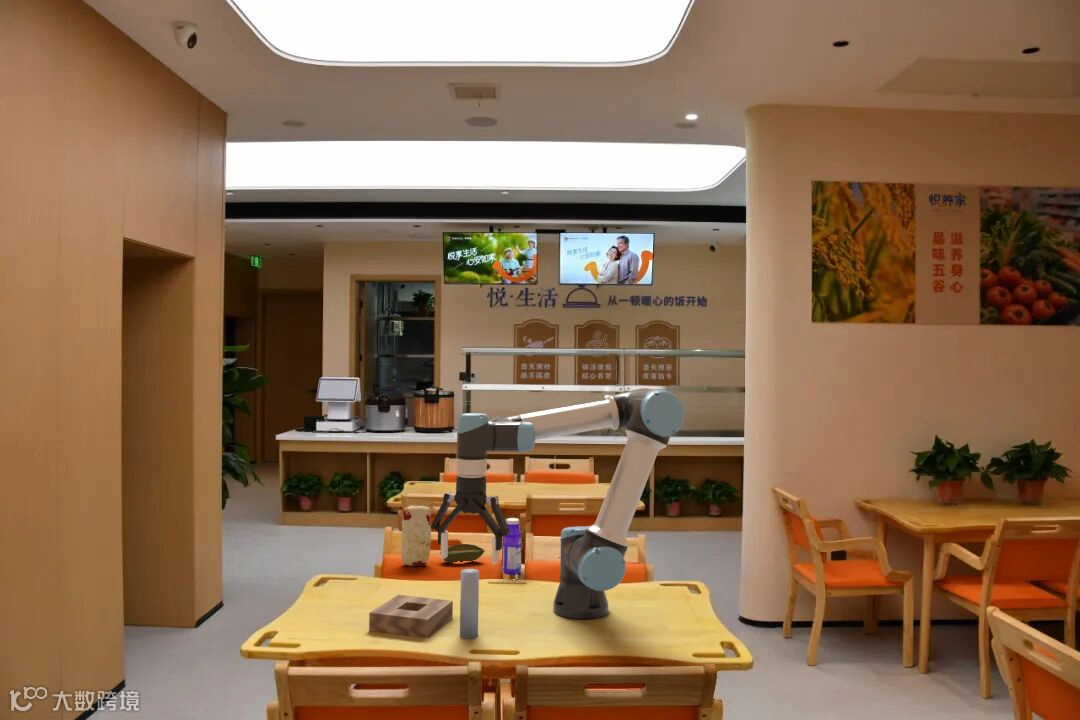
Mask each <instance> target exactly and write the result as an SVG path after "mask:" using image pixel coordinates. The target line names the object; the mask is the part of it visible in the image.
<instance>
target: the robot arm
mask: <svg viewBox="0 0 1080 720" xmlns="http://www.w3.org/2000/svg"><path fill="white" fill-rule="evenodd" d="M684 420H685V407H684V406H683V404H682V401H681V400H680V398H678V396H676V395H675V394H674V393H673V392H670V391H667V390H665V389H662V388H656V389H655V388H654V389H653V388H647V387H643V388H637V389H634V390H633V389H632V390H629V391H626V392H622V393H619V394H613V395H612V394H611V395H607V397H606V399H603V400H600V401H599V400H598V401H592V402H588V403H583V404H575V405H571V406H564V407H558V408H551V409H546V410H540V411H534V412H529V413H522V414H517V415H510V416H497V417H494V418H493V419H491V420H489V416H488V414H486V413H480V412H479V413H475V412H474V413H472V412H471V413H470V412H469V413H468V412H467V413H466V412H465V413H461V414H460V415H459V416H458V422H457V430H456V435H457V436H456V438H457V439H456V467H455V468H456V471H455V473H456V474H457V476H456V478H455V480H456V481H455V482H456V483H455V494H454V493H452V492H451V491H449V492H446V493H444V494H443V496H442V497H443V498H442V503H441V505H440V506H439V509H438V511H437V513H436V515H435V517H434V519H433V521H432V522H431V530H435V531H437V545H439V546H440V552H441V554H440V555H441V556H440V559H441V560H443V559H445V558H446V557H448V547H449V530H447V528H448V527H449V526H450V525H451V523H453V522H454V520H455V519H456V517H458V515H459V514H460V513H463V514H467V513H470V514H473V515H475V514H478V515H479V516H480V517H481V519H483V521H484V523H485V524H486V525H487V527H488V528H489V529H490V530H491V532H492V533H493V535H494V536H493V537H492V539H491V540H492V541H491V565H496V564H498V563H499V551H501V550H503V538H504V536H506V535H507V534H509V533H510V530H509V527H508V525H507V523H506V520H507V519H506V518H505V516H504V513H503V511H502V509H501V507H500V503H499V497H498V496H497V495H494V496H487V477H486V474H487V469H488V465H487V464H488V452H491V453H492V452H518V453H523V452H531V451H532V450H534V447H535V444H536V441H539V440H543V439H545V440H546V439H549V438H550V439H551V438H556V437H561V436H566V435H567V436H568V435H573V434H580V433H584V432H590V431H596V430H600V429H601V430H602V429H608V428H611V429H612V430H614V431H618V430H622V429H624V431H625V434H626V436H627V440H626V444H625V445H624V447H623V450H622V453H621V456H620V458H619V461H618V464H617V466H616V467H615V468H616V469H615V471H614V473H613V476H612V479H611V481H610V484H609V485H608V486H609V487H608V489H607V491H606V494H605V497H604V499H603V502H602V505H601V506H600V507H601V508H600V510H599V513H598V515H597V517H596V520H595V522H594V523H593V524H592V525H589V526H582V525H581V526H568V527H565V528H563V529H562V530H561V532H560V538H559V539H560V562H559V563H560V565H559V568H560V574H559V575H560V576H559V577H560V578H559V580H560V581H559V585H558V588H557V590H556V593H555V597H554V600H553V604H552V605H553V610H552V611H553V612H554V613H555V614H556V615H558V616H561V617H563V618H569V619H575V620H591V619H592V620H593V619H599V618H602V617H604V616H606V615H608V613H609V602H608V598H607V594H606V591H609V590H611V589H614V588H615V587H617V586H618V585H619V584H620V583H621V582H622V580H623V579H624V577H625V574H626V569H627V565H626V561H625V560H626V559H625V555H626V553H627V550H628V548H629V543H628V541H627V533H628V531H629V528H630V526H631V523H632V520H633V518H634V516H635V513H636V511H637V507H638V505H639V503H640V499H641V497H642V495H643V492H644V489H645V487H646V484H647V481H648V480H649V478H650V477H649V476H650V475H651V472H652V469H653V467H654V464H655V461H656V458H657V456H658V453H659V451H660V450H663V449H666V448H667V446H668V444H669V441H670V438H671V436H673V435H674V434H676V433H677V432H678V431H679V430H680V429H681V427H682V426H683V423H684ZM453 501H455V503H456V504H457V505H456V506H455V507H454V509H453V510H452V511H451V512H450V514H449V515H448V516H447V517H446V518H445V520H443V519H444V516H445V515H446V512H447V511H448V508H449V507H450V505H451V503H452V502H453ZM486 504H488V505H489V506H490V508H491V511H492V514H493V515H494V517H495V519H494V518H493V516H492V515H491V514H490V512H489V510H488V508H487V507H486V506H485V505H486ZM495 520H496V521H495ZM441 522H442V523H441Z"/></svg>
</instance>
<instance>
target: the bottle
mask: <svg viewBox="0 0 1080 720" xmlns="http://www.w3.org/2000/svg"><path fill="white" fill-rule="evenodd" d="M505 520H506V523H507V525H508V527H509V530H510V533H509V534H507V535H506V536H503V539H502V551H503V553H502V572H503V574H504V575H506V576H507V575H508V576H515V575H518V574H520V572H521V570H522V536H521V535H522V531H521V530H520V519H519V518H515V517H510V518H507V519H505Z"/></svg>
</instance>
